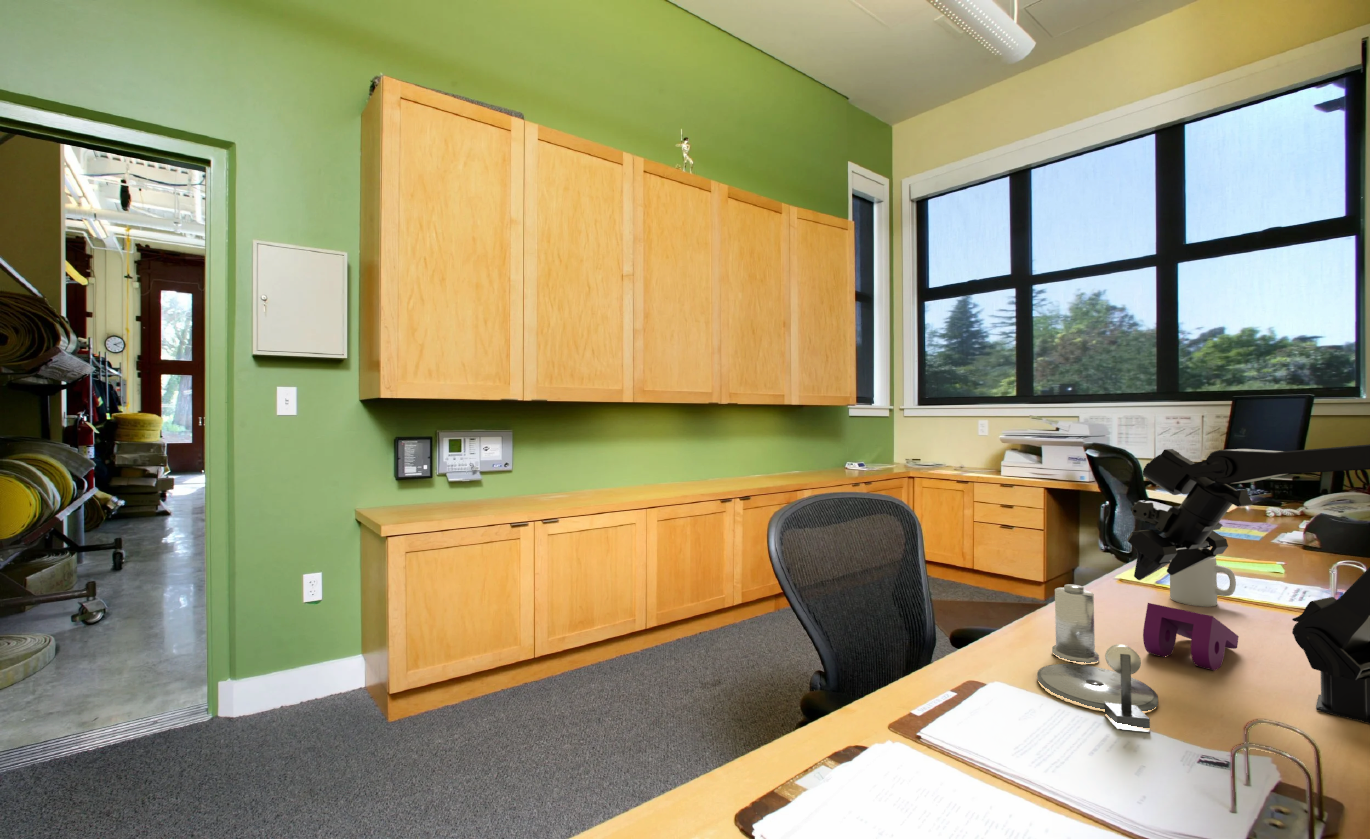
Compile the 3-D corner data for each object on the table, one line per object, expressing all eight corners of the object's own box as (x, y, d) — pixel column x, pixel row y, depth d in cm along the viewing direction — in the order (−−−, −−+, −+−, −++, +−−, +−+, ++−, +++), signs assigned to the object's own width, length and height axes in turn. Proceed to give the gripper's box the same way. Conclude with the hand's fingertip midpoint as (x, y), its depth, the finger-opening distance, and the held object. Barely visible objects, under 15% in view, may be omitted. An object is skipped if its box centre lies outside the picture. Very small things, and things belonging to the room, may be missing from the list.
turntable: (1143, 726, 84) (1143, 717, 84) (1021, 689, 96) (1021, 681, 96) (1169, 691, 95) (1168, 684, 95) (1056, 661, 107) (1056, 655, 107)
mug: (1163, 599, 141) (1162, 554, 142) (1178, 593, 146) (1177, 549, 146) (1229, 613, 131) (1228, 563, 131) (1243, 606, 136) (1242, 558, 136)
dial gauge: (1150, 733, 82) (1148, 654, 83) (1117, 729, 83) (1115, 651, 84) (1136, 718, 86) (1134, 643, 86) (1104, 715, 87) (1103, 641, 87)
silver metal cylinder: (1092, 668, 104) (1090, 594, 104) (1046, 656, 109) (1045, 586, 109) (1104, 657, 109) (1102, 586, 109) (1060, 646, 114) (1058, 579, 114)
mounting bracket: (1176, 669, 117) (1139, 647, 108) (1183, 627, 119) (1147, 602, 110) (1240, 687, 109) (1205, 665, 100) (1246, 641, 111) (1212, 616, 102)
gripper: (1190, 481, 114) (1146, 543, 122) (1123, 486, 108) (1082, 551, 116) (1252, 518, 105) (1201, 582, 113) (1183, 526, 99) (1134, 593, 106)
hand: (1153, 575), depth 112 cm, fingers open, 9 cm apart
